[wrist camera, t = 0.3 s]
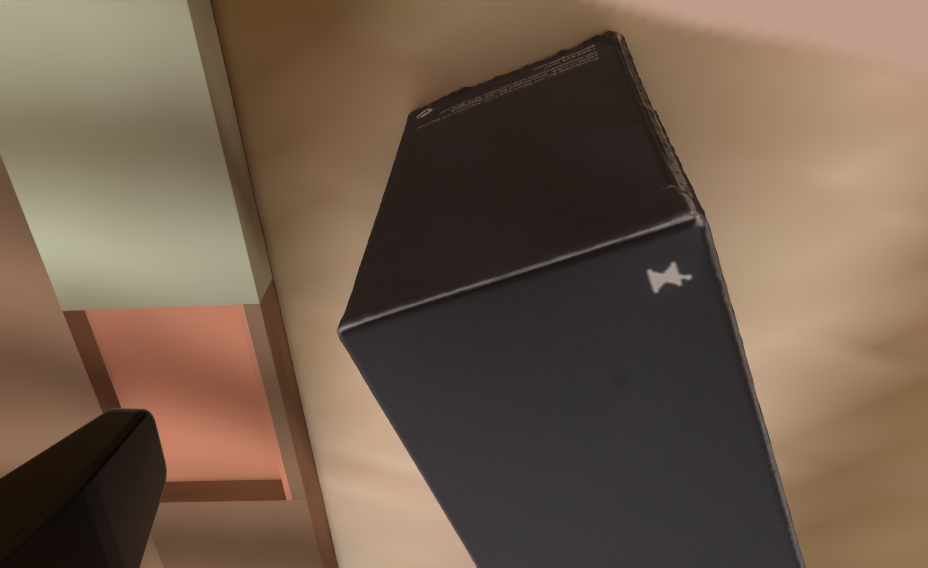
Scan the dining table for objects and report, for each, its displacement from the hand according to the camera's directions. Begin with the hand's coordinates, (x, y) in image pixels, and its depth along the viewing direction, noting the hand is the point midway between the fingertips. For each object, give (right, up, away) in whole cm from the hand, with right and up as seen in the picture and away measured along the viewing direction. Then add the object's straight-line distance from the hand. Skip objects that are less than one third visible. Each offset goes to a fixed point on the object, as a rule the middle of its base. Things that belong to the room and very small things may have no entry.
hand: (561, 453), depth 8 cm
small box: (+2, +3, +15) cm, 15 cm away
